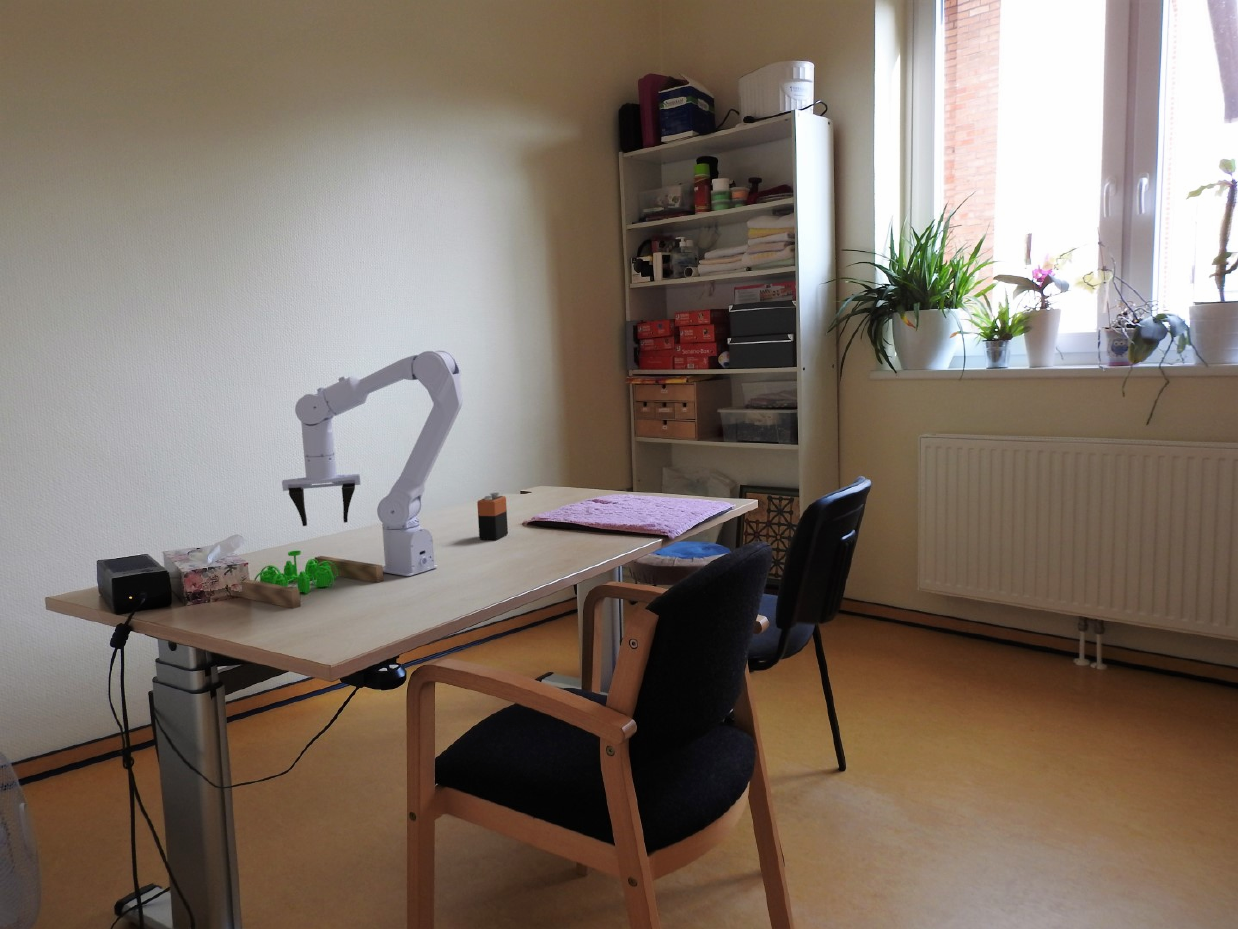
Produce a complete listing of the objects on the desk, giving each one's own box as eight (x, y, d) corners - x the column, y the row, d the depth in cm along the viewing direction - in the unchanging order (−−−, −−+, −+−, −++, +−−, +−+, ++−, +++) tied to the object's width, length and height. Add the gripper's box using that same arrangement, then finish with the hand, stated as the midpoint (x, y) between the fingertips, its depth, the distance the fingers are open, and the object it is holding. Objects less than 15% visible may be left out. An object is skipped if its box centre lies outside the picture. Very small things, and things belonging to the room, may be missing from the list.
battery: (508, 534, 209) (506, 492, 207) (496, 541, 202) (493, 497, 201) (491, 534, 210) (489, 491, 209) (478, 540, 204) (476, 496, 202)
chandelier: (354, 578, 174) (351, 543, 173) (311, 600, 159) (308, 562, 159) (284, 577, 177) (281, 542, 176) (237, 598, 163) (233, 561, 162)
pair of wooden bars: (383, 580, 170) (382, 565, 170) (293, 608, 154) (291, 591, 153) (321, 570, 180) (320, 555, 180) (230, 595, 164) (229, 579, 163)
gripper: (358, 450, 182) (363, 516, 184) (281, 455, 178) (288, 523, 180) (357, 454, 175) (363, 522, 177) (278, 459, 171) (285, 529, 173)
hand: (325, 523), depth 178 cm, fingers open, 7 cm apart
